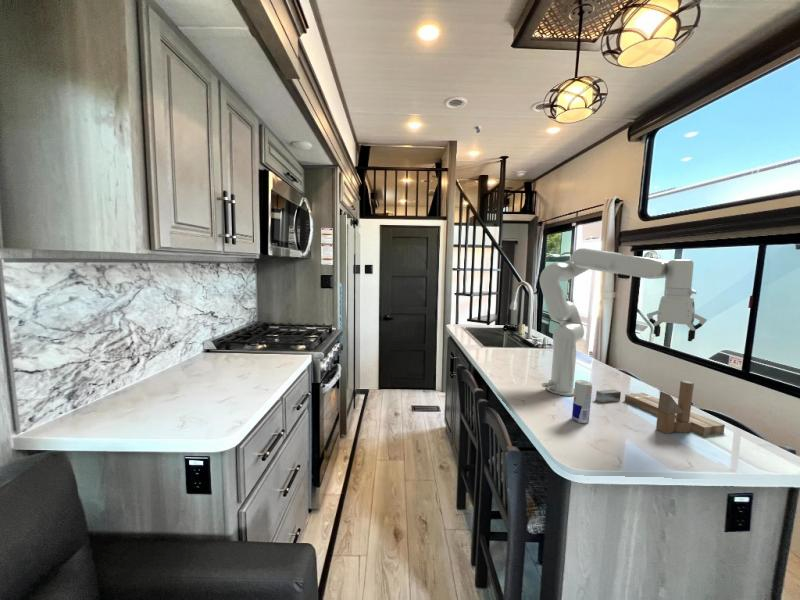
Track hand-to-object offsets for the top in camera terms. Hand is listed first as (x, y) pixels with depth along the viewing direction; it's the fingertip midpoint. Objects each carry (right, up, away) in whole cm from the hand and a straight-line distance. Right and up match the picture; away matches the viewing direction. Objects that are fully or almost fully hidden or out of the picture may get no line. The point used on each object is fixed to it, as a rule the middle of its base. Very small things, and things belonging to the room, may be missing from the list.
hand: (673, 338), depth 122 cm
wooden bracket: (-4, -33, -5) cm, 33 cm away
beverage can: (-35, -31, 0) cm, 47 cm away
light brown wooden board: (+5, -31, +8) cm, 33 cm away
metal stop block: (-11, -30, +21) cm, 38 cm away
